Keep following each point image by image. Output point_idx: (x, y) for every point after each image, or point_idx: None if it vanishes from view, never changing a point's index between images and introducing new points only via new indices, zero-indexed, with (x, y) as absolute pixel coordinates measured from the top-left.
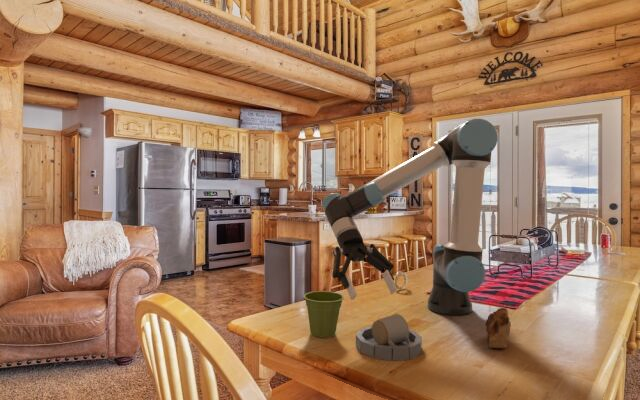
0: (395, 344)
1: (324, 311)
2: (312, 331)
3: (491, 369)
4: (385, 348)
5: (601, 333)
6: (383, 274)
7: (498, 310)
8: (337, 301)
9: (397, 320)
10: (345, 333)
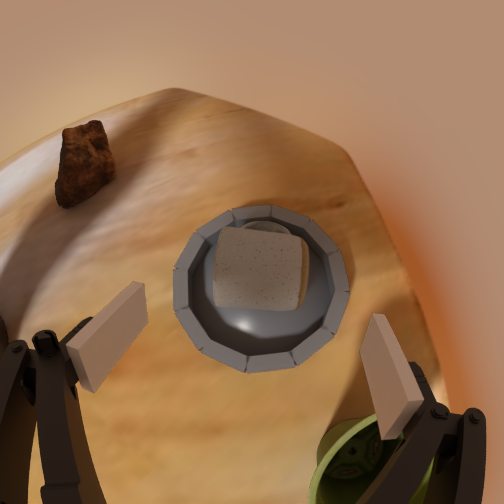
0: None
1: None
2: (389, 445)
3: (188, 140)
4: (322, 230)
5: (4, 165)
6: (92, 377)
7: (66, 138)
8: None
9: (249, 235)
10: (293, 427)
